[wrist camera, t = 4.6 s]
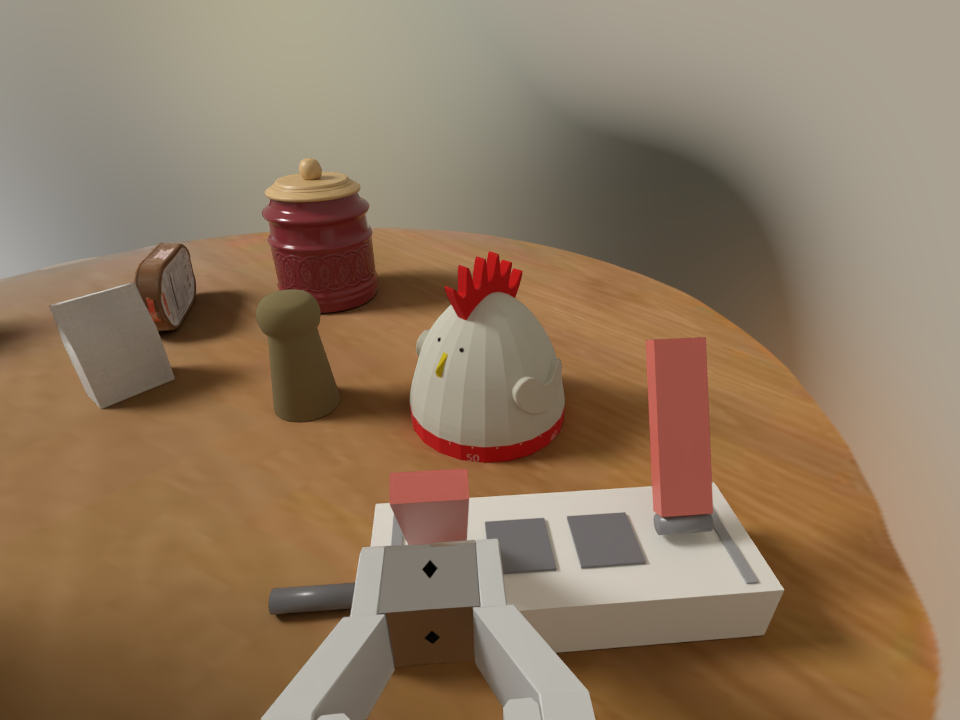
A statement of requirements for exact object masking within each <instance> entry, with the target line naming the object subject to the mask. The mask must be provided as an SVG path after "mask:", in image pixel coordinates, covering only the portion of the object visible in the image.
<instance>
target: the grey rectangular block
mask: <svg viewBox="0 0 960 720" xmlns="http://www.w3.org/2000/svg"><path fill="white" fill-rule="evenodd" d="M49 307H50V310H51V312H52V314H53V317H54V320H55V322H56V325H57V328H58V331H59V334H60V337H61V339H62V342H63V344H64V346H65V349H66V351H67V353H68V355H69V357H70V359H71V361H72V363H73V366H74V368H75V370H76V372H77V374H78V376H79V378H80V381H81V383H82V385H83V387H84V389H85V391H86V393H87V395H88V396H89V397H90V398H91V399H92V400H93V401H94V402H95V403H96V404H97V405H98V406H99V407H100V408H101V409H103V408H105V407H108V406H110V405H113V404H115V403H117V402H120V401H122V400H125V399H127V398H130V397H132V396H135V395H137V394H139V393H142V392H144V391H147V390H149V389H152V388H154V387H157V386H159V385H162V384H164V383H166V382H169V381H171V380H174V379H175V377H174V374H173V372H172V369H171V366H170V363H169V360H168V358H167V355H166V352H165V349H164V346H163V344H162V341H161V338H160V335H159V333H158V330H157V327H156V325H155V323H154V321H153V319H152V317H151V315H150V313H149V311H148V310H147V308H146V306H145V304H144V302H143V300H142V298H141V296H140V294H139V291H138V289H137V287H136V285H135V283H129V284H126V285H122V286H118V287H115V288H111V289H107V290H104V291H100V292H96V293H93V294H89V295H86V296H82V297H78V298H75V299H71V300H67V301H64V302H60V303H57V304H53V305H49Z"/></svg>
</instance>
